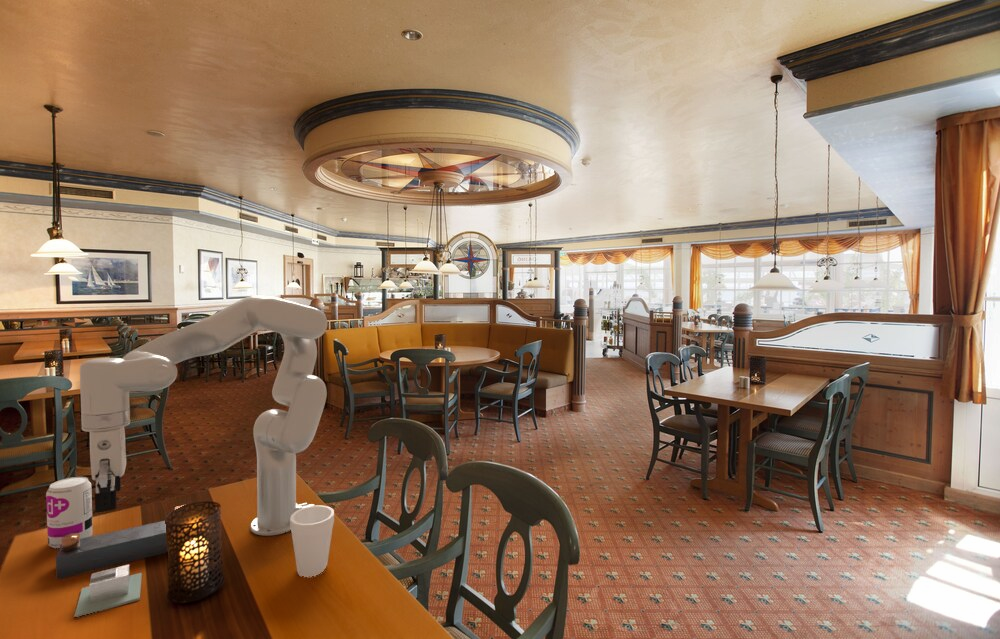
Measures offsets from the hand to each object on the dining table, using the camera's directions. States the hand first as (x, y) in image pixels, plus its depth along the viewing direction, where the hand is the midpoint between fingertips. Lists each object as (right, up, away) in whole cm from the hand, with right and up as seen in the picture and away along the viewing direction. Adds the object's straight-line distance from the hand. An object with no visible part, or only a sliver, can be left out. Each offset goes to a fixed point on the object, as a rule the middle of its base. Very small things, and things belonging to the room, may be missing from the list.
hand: (108, 500), depth 96 cm
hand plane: (-8, -19, +15) cm, 26 cm away
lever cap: (-1, -20, +1) cm, 20 cm away
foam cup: (+37, -21, +12) cm, 44 cm away
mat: (-1, -20, +1) cm, 20 cm away
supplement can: (-27, -18, +21) cm, 38 cm away
